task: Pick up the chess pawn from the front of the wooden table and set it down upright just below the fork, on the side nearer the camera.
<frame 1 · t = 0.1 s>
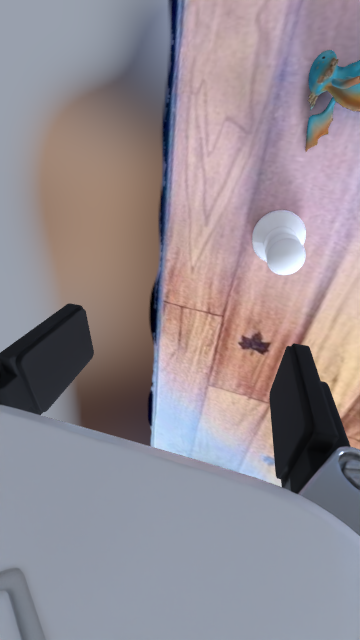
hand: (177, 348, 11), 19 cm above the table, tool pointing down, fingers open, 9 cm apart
dragon figurine: (355, 99, 19), on the table
chess pawn: (276, 234, 25), on the table
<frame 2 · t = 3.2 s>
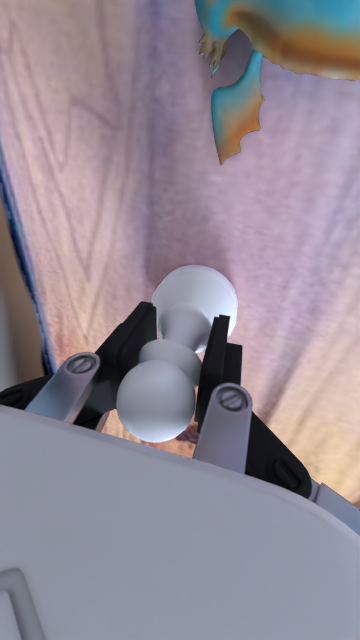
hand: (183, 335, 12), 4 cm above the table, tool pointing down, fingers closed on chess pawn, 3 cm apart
dragon figurine: (311, 55, 9), on the table
chess pawn: (197, 301, 15), on the table, touching gripper
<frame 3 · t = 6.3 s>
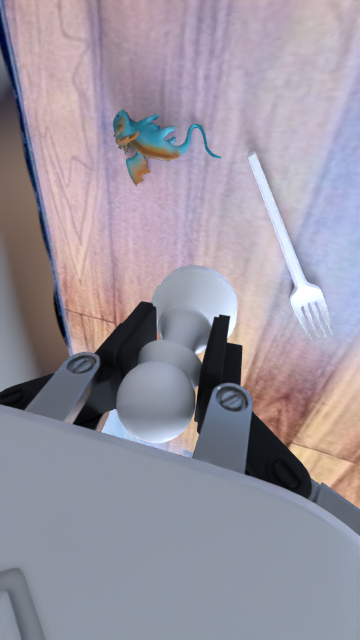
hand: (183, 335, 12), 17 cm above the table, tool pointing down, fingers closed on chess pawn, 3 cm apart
fork: (289, 253, 25), on the table
dragon figurine: (163, 145, 22), on the table
chess pawn: (197, 301, 15), point 13 cm above the table, touching gripper
when the fingers open (4 cm above the table, at t = 9.5 s): chess pawn stays where it is, on the table.
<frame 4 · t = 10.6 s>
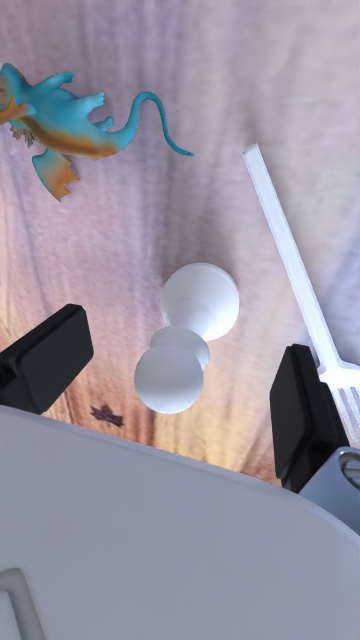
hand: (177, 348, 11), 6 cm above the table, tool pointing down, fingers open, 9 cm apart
fork: (311, 314, 15), on the table
dragon figurine: (97, 134, 13), on the table
chess pawn: (202, 296, 16), on the table
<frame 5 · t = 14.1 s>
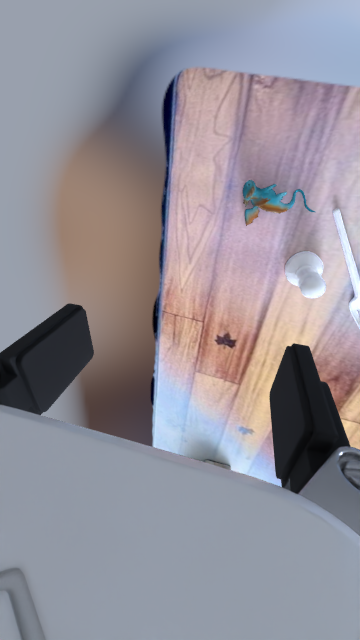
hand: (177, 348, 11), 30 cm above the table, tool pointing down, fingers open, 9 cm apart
fork: (352, 273, 35), on the table
dragon figurine: (271, 200, 33), on the table
chess pawn: (302, 266, 36), on the table
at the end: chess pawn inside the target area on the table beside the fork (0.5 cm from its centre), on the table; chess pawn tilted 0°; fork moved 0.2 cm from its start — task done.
